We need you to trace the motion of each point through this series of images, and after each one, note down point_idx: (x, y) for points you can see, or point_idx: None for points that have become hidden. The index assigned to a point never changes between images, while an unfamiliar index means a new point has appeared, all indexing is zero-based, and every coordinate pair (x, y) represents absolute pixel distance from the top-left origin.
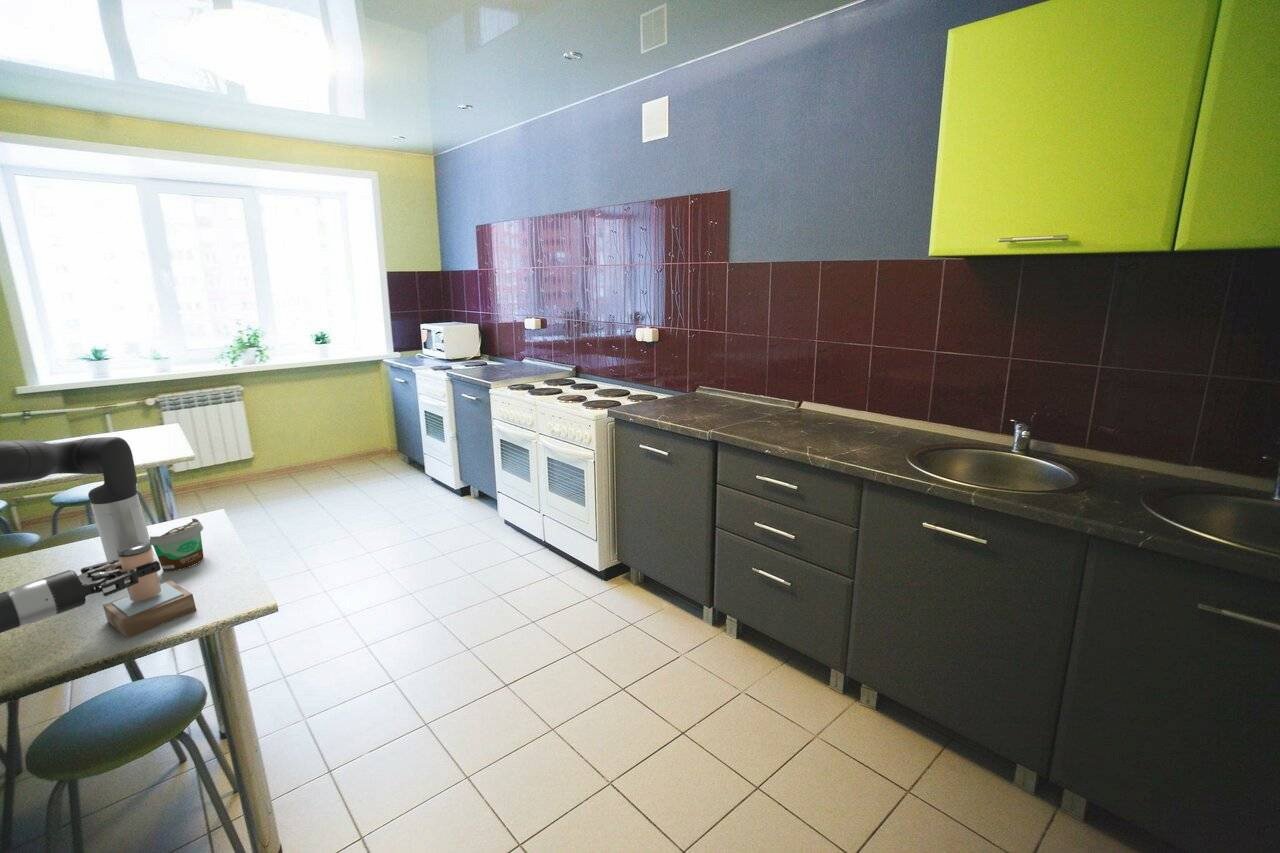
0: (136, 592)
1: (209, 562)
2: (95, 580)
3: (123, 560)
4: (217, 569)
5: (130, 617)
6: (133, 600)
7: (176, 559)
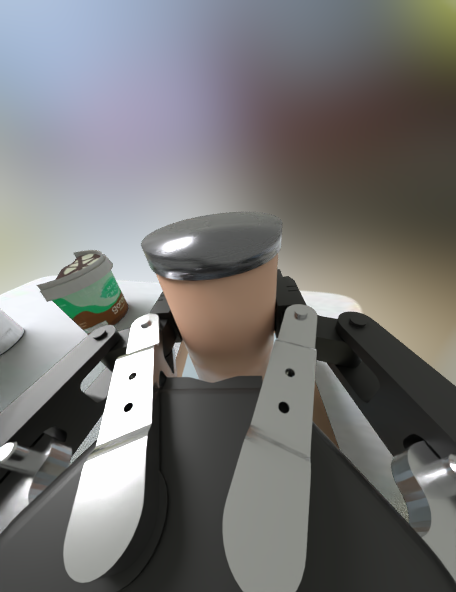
0: None
1: (144, 301)
2: (350, 581)
3: (242, 294)
4: None
5: None
6: None
7: (106, 310)
